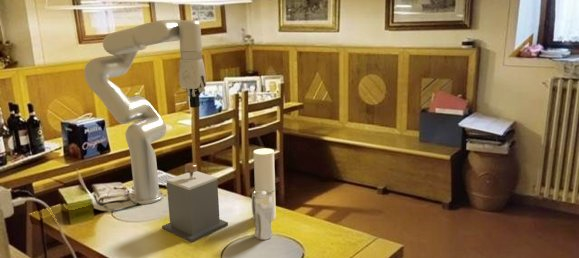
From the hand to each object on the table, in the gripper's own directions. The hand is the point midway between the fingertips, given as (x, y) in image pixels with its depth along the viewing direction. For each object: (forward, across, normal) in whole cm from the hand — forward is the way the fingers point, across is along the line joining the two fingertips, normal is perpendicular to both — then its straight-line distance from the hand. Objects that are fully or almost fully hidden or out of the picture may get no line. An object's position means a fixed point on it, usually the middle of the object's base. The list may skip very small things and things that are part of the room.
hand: (195, 106), depth 173 cm
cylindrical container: (+39, +26, +8) cm, 48 cm away
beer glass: (+39, +35, -3) cm, 53 cm away
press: (+39, +12, -13) cm, 43 cm away
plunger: (+33, +12, -13) cm, 38 cm away
